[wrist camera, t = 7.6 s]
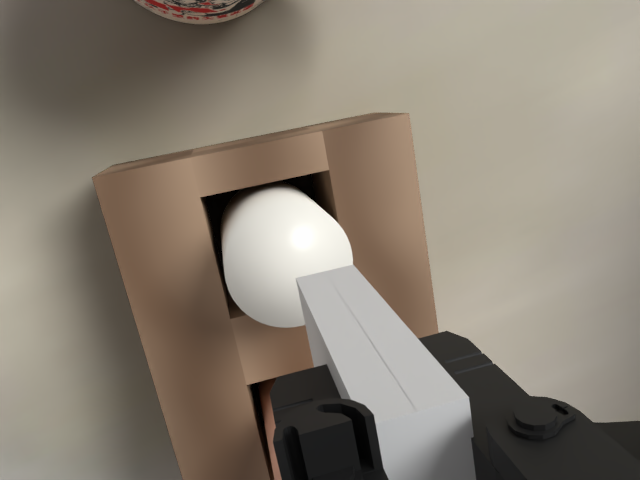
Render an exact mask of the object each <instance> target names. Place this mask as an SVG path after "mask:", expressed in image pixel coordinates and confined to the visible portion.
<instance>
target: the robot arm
mask: <svg viewBox="0 0 640 480" xmlns="http://www.w3.org/2000/svg"><path fill="white" fill-rule="evenodd" d="M296 282H297V287H298V292H299V297H300V302H301V306H302V311H303V316H304V321H305V326H306V330H307V335H308V340H309V345H310V350H311V355H312V359H313V364H314V367H313V368H310V369H306V370H302V371H298V372H294V373H290V374H286V375H283V376H279V377H277V379H276V381H275V383H274V385H273V387H272V389H271V391H270V399H271V404H272V410H273V416H274V421H275V427H276V428H275V430H274V437H273V445H274V449H275V454H276V458H277V462H278V466H279V470H280V474H281V479H282V480H640V421H630V422H611V423H593V422H592V421H591V420H590V419H589V418H587V417H586V416H585V415H584V414H583V413H581V412H580V411H579V410H577V409H575V408H574V407H572V406H570V405H569V404H567V403H565V402H562V401H558V400H555V399H551V398H548V397H535V396H529V395H528V394H527V393H526V392H525V391H524V390H523V389H522V388H521V387H519V386H518V385H517V384H516V383H515V382H514V381H513V380H512V379H511V378H510V377H509V376H508V375H506V374H505V373H504V372H503V371H502V370H501V369H500V368H499V367H498V366H497V365H496V364H493V363H492V361H491V360H490V359H489V358H488V357H487V356H486V355H485V354H482V353H481V351H480V350H479V349H478V348H477V347H476V346H475V345H474V344H473V343H472V342H471V341H469V340H468V339H467V338H464V337H461V336H459V335H456V334H453V333H451V332H448V331H445V332H441V333H437V334H433V335H429V336H426V337H422V338H417V337H416V336H415V335H414V334H413V332H412V331H411V330H410V329H409V328H408V327H407V326H406V324H405V323H404V322H403V321H402V320H401V319H400V318H399V316H398V315H397V314H396V313H395V312H394V311H393V310H392V308H391V307H390V306H389V305H388V304H387V303H386V301H385V300H384V299H383V298H382V297H381V296H380V295H379V293H378V292H377V291H376V290H375V289H374V288H373V287H372V285H371V284H370V283H369V282H368V281H367V280H366V279H365V277H364V276H363V275H362V274H361V273H360V272H359V270H358V269H357V268H356V267H355V266H354V265H349V266H345V267H341V268H336V269H332V270H328V271H324V272H319V273H315V274H311V275H307V276H302V277H298V278H296Z"/></svg>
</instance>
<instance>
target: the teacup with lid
mask: <svg viewBox="0 0 640 480" xmlns="http://www.w3.org/2000/svg"><path fill="white" fill-rule="evenodd" d="M133 1H135V2H136V3H138V4H139V5H141V6H142V7H144V8H146V9H147V10H149V11H151V12H153V13H155V14H157V15H160V16H162V17H165V18H168V19H171V20H174V21H179V22H183V23H190V24H213V23H219V22H224V21H228V20H231V19H234V18H237V17H239V16H242V15H244V14H246V13H248V12H249V11H251V10H253V9H254V8H256V7H257V6H259V5H260V4H261V3H262V2H264V1H265V0H133Z"/></svg>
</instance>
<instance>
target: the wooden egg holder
mask: <svg viewBox="0 0 640 480" xmlns="http://www.w3.org/2000/svg"><path fill="white" fill-rule="evenodd" d="M307 174H311V176H312V181H313V186H314V192H315V197H316V202H317V205H319V206H320V207H321V208H322V209H323V210H324V211H325V212H327V213H328V214H329V215H330V216H331V217H332V218H333V219H334V220H335V221H336V222H337V223H338V224H339V225H340V226H341V228H342V229H343V230H344V232H345V234H346V236H347V238H348V240H349V243H350V246H351V250H352V256H353V265H354V266H355V267H356V268H357V269H358V270H359V272H360V273H361V274H362V275H363V276H364V277H365V279H366V280H367V281H368V282H369V283H370V284H371V285H372V287H373V288H374V289H375V290H376V291H377V292H378V293H379V295H380V296H381V297H382V298H383V299H384V300H385V301H386V303H387V304H388V305H389V306H390V307H391V308H392V310H393V311H394V312H395V313H396V314H397V315H398V316H399V318H400V319H401V320H402V321H403V322H404V323H405V324H406V326H407V327H408V328H409V329H410V330H411V331H412V332H413V334H414V335H415V336H416V337H417V338H422V337H426V336H429V335H433V334H437V333H439V332H438V325H437V318H436V310H435V303H434V295H433V288H432V280H431V273H430V265H429V258H428V251H427V243H426V236H425V228H424V221H423V213H422V206H421V199H420V191H419V184H418V176H417V169H416V161H415V154H414V146H413V139H412V132H411V124H410V117H409V113H370V114H365V115H360V116H355V117H350V118H345V119H340V120H335V121H330V122H325V123H320V124H315V125H311V126H306V127H301V128H296V129H291V130H286V131H281V132H276V133H271V134H266V135H261V136H256V137H251V138H246V139H241V140H236V141H231V142H226V143H221V144H216V145H211V146H206V147H201V148H196V149H191V150H186V151H181V152H176V153H171V154H166V155H161V156H156V157H151V158H146V159H141V160H136V161H131V162H126V163H121V164H116V165H112V166H111V167H109V168H107V169H106V170H104V171H102V172H101V173H99V174H97V175H96V176H94V177H92V179H93V183H94V186H95V189H96V193H97V196H98V199H99V203H100V206H101V209H102V213H103V216H104V219H105V223H106V226H107V229H108V233H109V236H110V239H111V243H112V246H113V249H114V252H115V256H116V259H117V262H118V266H119V269H120V272H121V276H122V279H123V282H124V286H125V289H126V292H127V296H128V299H129V302H130V306H131V309H132V312H133V316H134V319H135V322H136V326H137V329H138V332H139V336H140V339H141V342H142V346H143V349H144V352H145V356H146V359H147V362H148V366H149V369H150V372H151V376H152V379H153V382H154V386H155V389H156V392H157V396H158V399H159V402H160V406H161V409H162V412H163V416H164V419H165V422H166V425H167V429H168V432H169V435H170V439H171V442H172V445H173V449H174V452H175V455H176V459H177V462H178V465H179V469H180V472H181V475H182V479H183V480H274V475H273V469H272V463H271V458H270V452H269V447H268V441H267V435H266V430H265V426H264V427H262V426H261V422H260V418H259V414H258V410H257V406H256V402H255V398H254V394H253V390H252V386H251V384H253V383H257V382H260V381H264V380H268V379H272V378H275V377H279V376H283V375H286V374H290V373H294V372H298V371H301V370H305V369H309V368H312V367H314V364H313V359H312V355H311V350H310V345H309V340H308V335H307V330H306V326H305V325H303V326H298V327H290V328H282V327H274V326H269V325H266V324H263V323H260V322H258V321H256V320H254V319H253V318H251V317H250V316H248V315H247V314H246V313H244V312H243V311H242V310H241V309H240V308H239V306H238V305H237V304H236V303H235V301H234V300H233V298H232V297H231V294H230V292H229V290H228V287H227V284H226V280H225V275H224V271H223V267H222V263H221V259H220V255H219V251H218V247H217V243H216V239H215V235H214V231H213V226H212V222H211V218H210V214H209V210H208V206H207V202H206V198H205V196H209V195H214V194H219V193H223V192H228V191H233V190H237V189H242V188H247V187H251V186H256V185H261V184H265V183H270V182H275V181H279V180H284V179H289V178H293V177H298V176H303V175H307Z"/></svg>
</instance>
